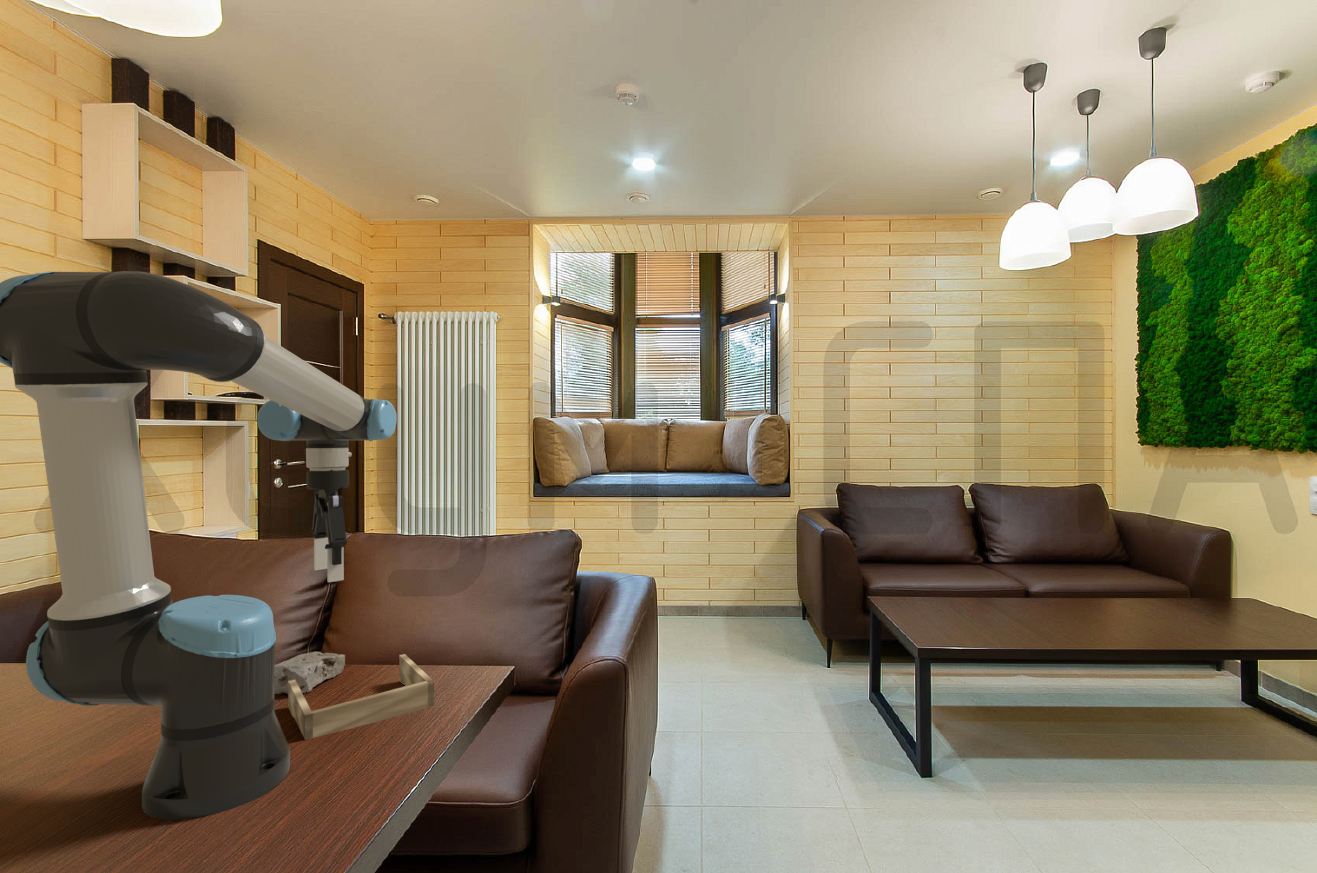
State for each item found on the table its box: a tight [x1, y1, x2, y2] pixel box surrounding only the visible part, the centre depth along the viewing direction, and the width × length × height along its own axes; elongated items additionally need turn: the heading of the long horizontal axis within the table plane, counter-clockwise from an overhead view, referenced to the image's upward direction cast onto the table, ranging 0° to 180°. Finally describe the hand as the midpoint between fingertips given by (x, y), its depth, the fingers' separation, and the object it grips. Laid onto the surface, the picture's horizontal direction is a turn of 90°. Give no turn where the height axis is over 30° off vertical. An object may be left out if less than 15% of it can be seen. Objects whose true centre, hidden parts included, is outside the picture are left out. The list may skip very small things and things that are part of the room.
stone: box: [274, 651, 346, 695], centre depth 110 cm, size 13×6×10 cm
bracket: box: [287, 653, 435, 741], centre depth 99 cm, size 16×19×5 cm
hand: (328, 575), depth 118 cm, fingers open, 12 cm apart
